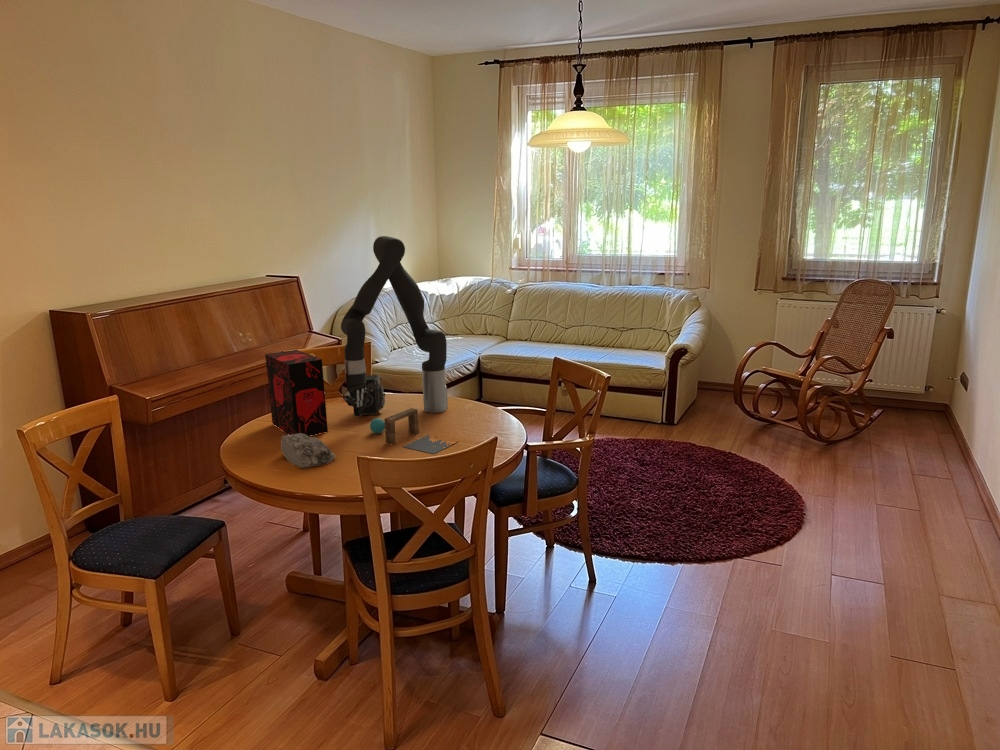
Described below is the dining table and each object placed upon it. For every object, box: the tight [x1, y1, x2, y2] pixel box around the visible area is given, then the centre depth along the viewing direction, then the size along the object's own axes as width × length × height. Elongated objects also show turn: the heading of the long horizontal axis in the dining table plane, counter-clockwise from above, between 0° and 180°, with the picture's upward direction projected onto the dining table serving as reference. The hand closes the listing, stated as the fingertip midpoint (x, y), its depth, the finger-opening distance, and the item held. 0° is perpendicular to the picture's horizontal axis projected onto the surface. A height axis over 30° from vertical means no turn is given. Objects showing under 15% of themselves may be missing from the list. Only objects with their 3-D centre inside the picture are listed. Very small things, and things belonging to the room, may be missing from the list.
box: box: [264, 349, 329, 437], centre depth 261 cm, size 23×12×28 cm, turn 38°
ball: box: [369, 417, 385, 434], centre depth 257 cm, size 6×6×6 cm
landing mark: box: [402, 434, 451, 455], centre depth 244 cm, size 14×14×1 cm
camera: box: [361, 374, 386, 416], centre depth 281 cm, size 10×11×15 cm
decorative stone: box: [280, 433, 336, 469], centre depth 231 cm, size 20×14×10 cm
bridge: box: [383, 407, 420, 446], centre depth 250 cm, size 3×15×9 cm, turn 147°
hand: (357, 416), depth 261 cm, fingers closed
